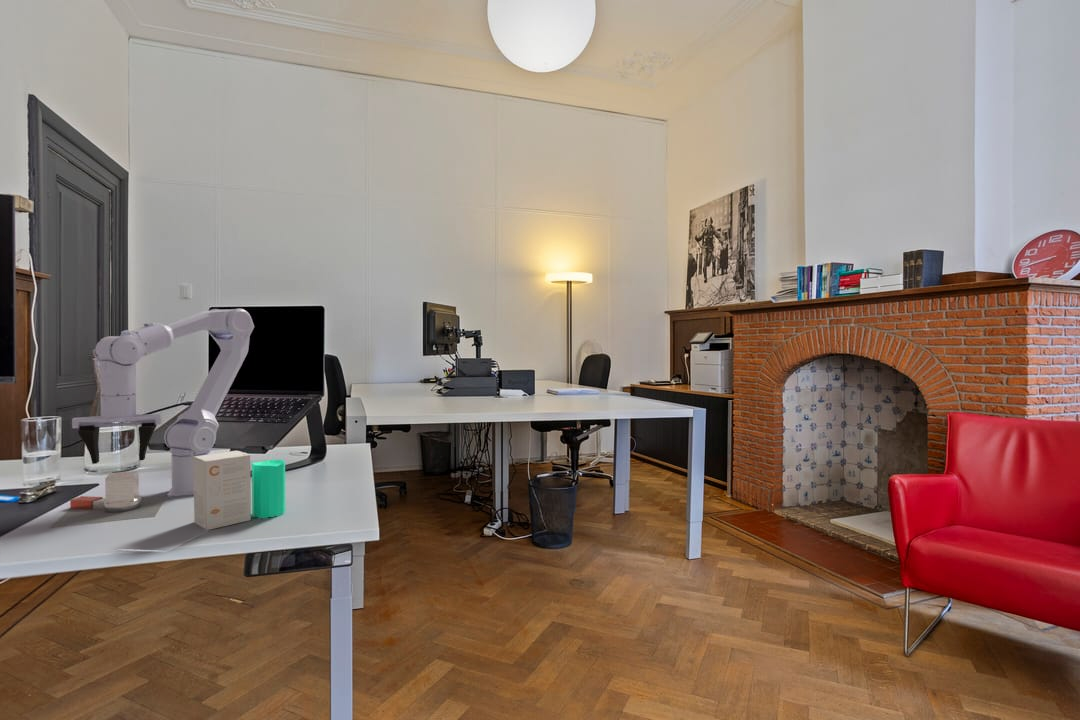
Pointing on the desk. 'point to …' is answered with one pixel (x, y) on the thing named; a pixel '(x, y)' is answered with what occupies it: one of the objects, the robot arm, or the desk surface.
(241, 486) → the small box
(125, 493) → the pale grey cube
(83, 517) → the mat
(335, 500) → the desk surface
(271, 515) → the candle
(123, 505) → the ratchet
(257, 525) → the desk surface
